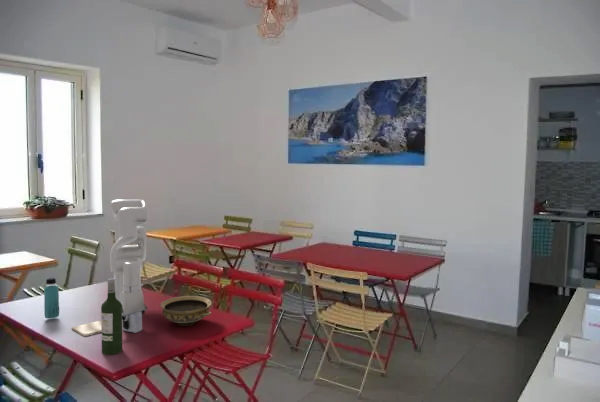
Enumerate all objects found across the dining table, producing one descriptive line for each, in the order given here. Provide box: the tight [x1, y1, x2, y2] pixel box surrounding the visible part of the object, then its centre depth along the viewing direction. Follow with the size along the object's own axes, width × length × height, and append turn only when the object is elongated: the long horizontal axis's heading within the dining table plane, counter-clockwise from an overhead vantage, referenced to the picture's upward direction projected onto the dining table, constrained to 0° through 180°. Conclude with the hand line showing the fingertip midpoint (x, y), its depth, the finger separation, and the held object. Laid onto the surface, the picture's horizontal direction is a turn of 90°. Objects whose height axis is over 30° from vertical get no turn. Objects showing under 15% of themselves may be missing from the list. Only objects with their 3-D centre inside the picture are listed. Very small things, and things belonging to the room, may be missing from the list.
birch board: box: [71, 320, 102, 338], centre depth 221 cm, size 13×13×1 cm
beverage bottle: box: [43, 277, 60, 319], centre depth 233 cm, size 6×7×20 cm
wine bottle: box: [100, 277, 123, 356], centre depth 195 cm, size 8×8×30 cm
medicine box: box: [122, 312, 143, 334], centre depth 220 cm, size 8×4×9 cm, turn 64°
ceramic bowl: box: [159, 295, 212, 327], centre depth 232 cm, size 30×24×10 cm
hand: (132, 326), depth 221 cm, fingers closed on medicine box, 5 cm apart
